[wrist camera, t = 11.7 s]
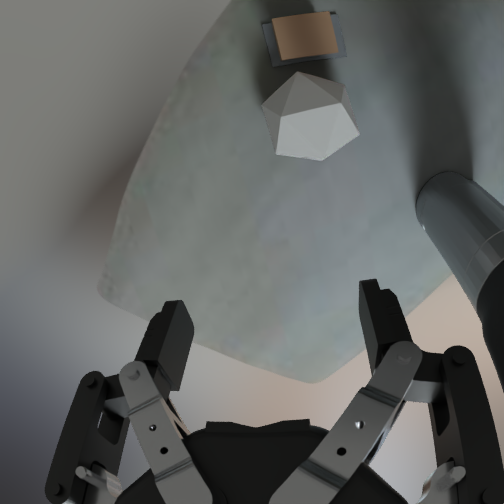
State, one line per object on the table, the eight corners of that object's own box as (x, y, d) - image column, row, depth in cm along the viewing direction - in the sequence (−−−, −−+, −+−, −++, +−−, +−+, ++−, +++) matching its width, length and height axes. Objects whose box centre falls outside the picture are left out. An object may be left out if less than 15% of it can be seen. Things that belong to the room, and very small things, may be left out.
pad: (336, 14, 25) (337, 14, 25) (346, 56, 28) (347, 56, 27) (261, 24, 26) (261, 24, 26) (272, 67, 29) (272, 67, 29)
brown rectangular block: (319, 19, 25) (329, 11, 20) (327, 54, 27) (338, 52, 22) (272, 26, 26) (271, 18, 21) (280, 60, 28) (282, 60, 23)
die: (247, 107, 32) (261, 181, 29) (278, 44, 25) (304, 115, 21) (314, 120, 35) (336, 188, 32) (352, 67, 28) (388, 137, 24)
